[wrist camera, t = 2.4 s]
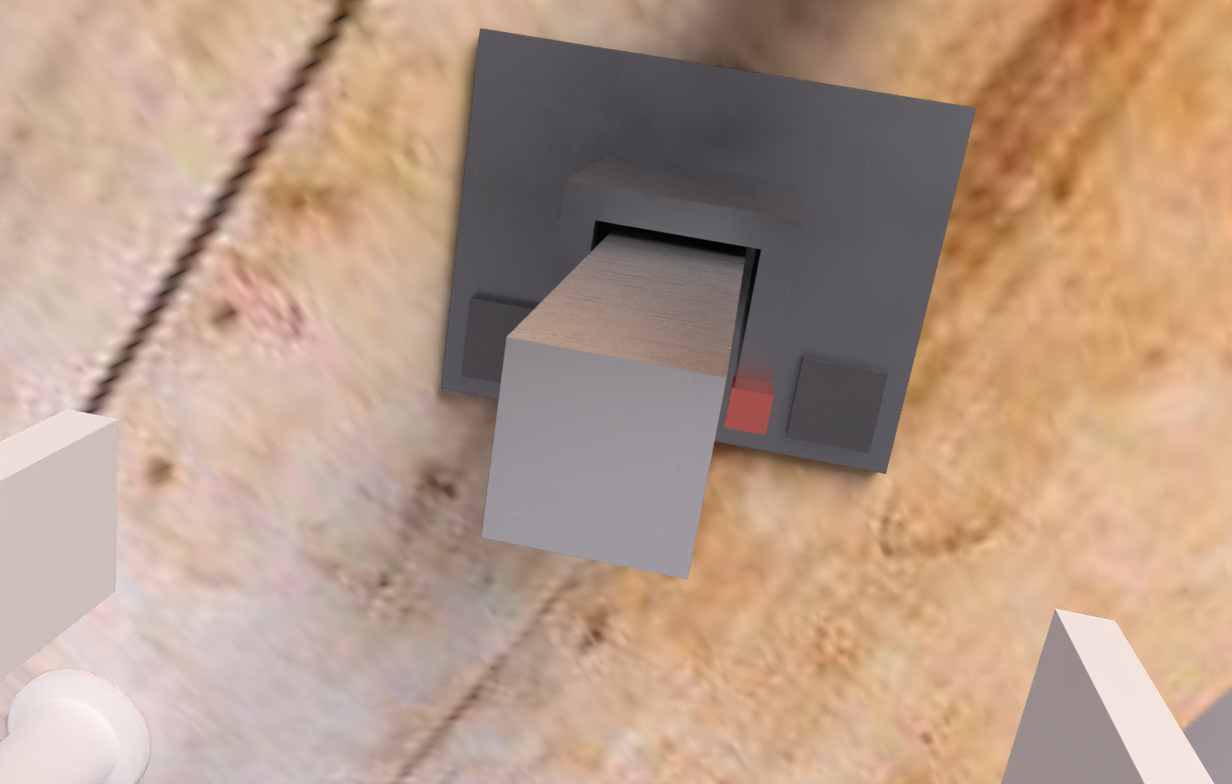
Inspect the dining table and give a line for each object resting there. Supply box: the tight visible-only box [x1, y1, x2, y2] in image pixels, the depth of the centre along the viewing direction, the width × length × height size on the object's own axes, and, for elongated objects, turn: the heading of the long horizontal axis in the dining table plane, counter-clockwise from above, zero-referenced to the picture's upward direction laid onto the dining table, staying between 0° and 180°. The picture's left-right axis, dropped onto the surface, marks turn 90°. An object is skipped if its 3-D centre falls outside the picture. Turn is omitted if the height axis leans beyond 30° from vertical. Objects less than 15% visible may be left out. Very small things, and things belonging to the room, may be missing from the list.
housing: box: [441, 28, 976, 474], centre depth 36 cm, size 18×14×12 cm
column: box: [481, 224, 747, 579], centre depth 30 cm, size 4×5×22 cm
